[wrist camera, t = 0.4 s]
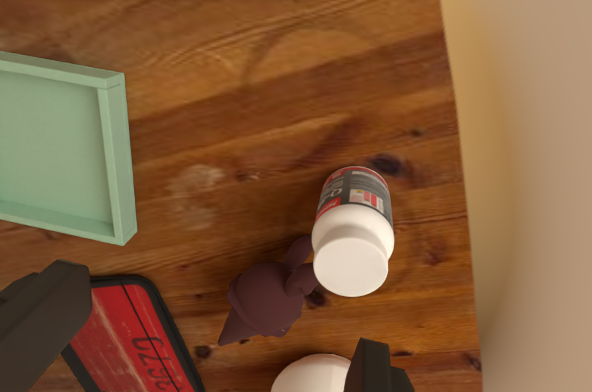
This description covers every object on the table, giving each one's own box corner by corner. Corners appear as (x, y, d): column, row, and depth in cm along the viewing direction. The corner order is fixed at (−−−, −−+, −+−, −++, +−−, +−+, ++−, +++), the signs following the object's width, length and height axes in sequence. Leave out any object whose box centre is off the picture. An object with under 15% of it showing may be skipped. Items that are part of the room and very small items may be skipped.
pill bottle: (331, 155, 31) (318, 218, 22) (399, 174, 31) (412, 245, 22) (314, 213, 34) (296, 288, 25) (376, 230, 34) (379, 313, 25)
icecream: (249, 388, 37) (356, 299, 31) (180, 364, 34) (286, 261, 28) (250, 328, 43) (340, 243, 37) (191, 303, 40) (280, 207, 34)
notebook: (95, 412, 51) (14, 291, 42) (105, 396, 53) (30, 278, 44) (206, 411, 48) (143, 279, 39) (212, 393, 50) (153, 265, 41)
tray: (-51, 41, 32) (-83, 45, 30) (124, 72, 31) (105, 79, 28) (-5, 201, 39) (-27, 213, 37) (137, 231, 38) (123, 246, 36)
